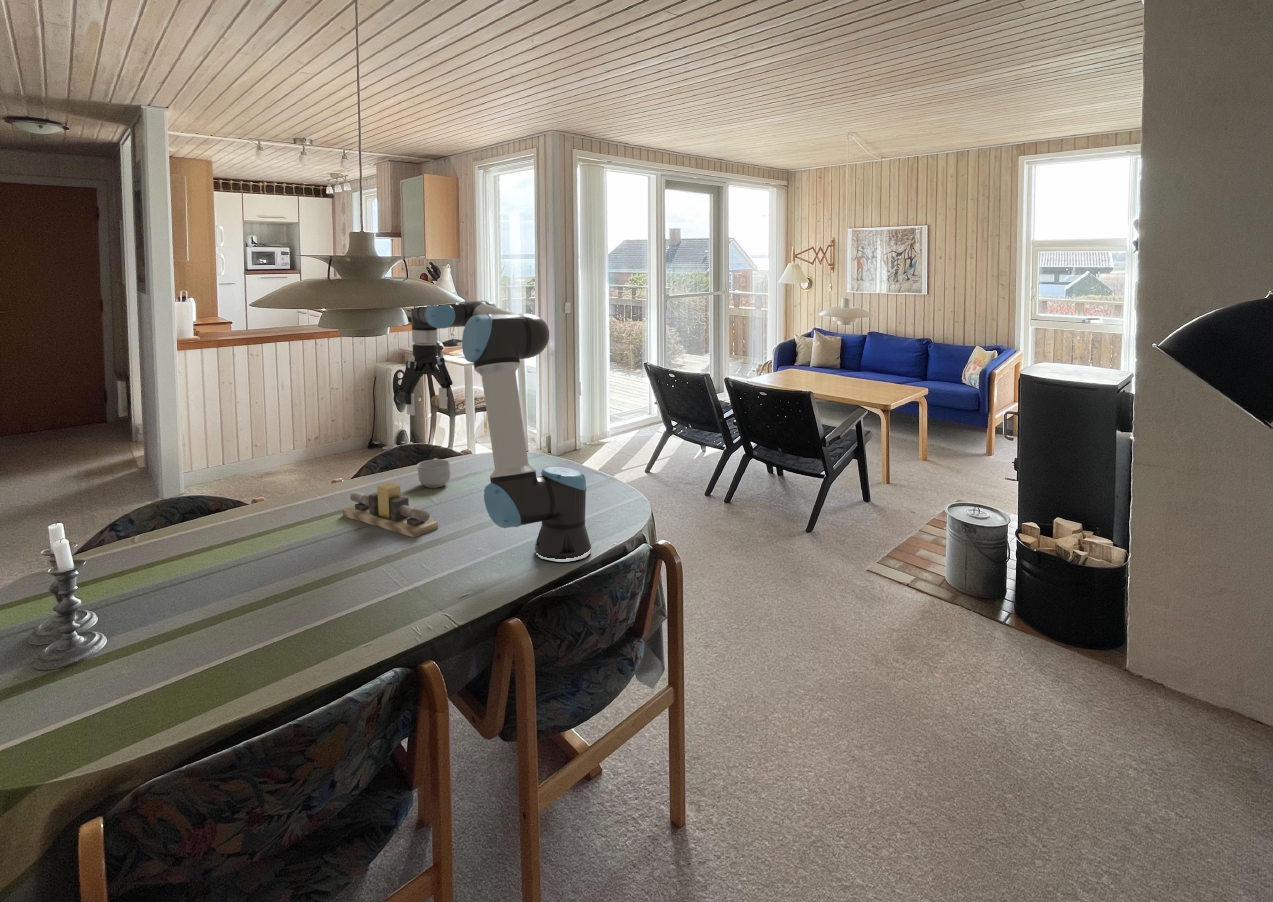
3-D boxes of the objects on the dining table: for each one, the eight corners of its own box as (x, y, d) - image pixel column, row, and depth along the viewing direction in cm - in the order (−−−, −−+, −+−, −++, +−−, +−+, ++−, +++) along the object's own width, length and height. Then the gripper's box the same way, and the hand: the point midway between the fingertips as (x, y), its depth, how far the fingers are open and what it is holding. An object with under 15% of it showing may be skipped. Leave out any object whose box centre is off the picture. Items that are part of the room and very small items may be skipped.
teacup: (445, 490, 252) (445, 467, 250) (413, 489, 252) (412, 466, 250) (456, 478, 266) (455, 457, 264) (425, 477, 266) (424, 455, 264)
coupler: (402, 514, 221) (400, 485, 219) (390, 519, 218) (388, 489, 215) (390, 511, 224) (388, 482, 222) (378, 515, 220) (376, 486, 218)
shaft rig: (437, 528, 218) (437, 502, 216) (414, 537, 210) (413, 510, 208) (367, 508, 233) (365, 483, 231) (342, 516, 225) (341, 490, 223)
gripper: (445, 339, 244) (447, 403, 249) (384, 345, 223) (387, 415, 228) (462, 341, 240) (464, 406, 245) (402, 348, 219) (405, 419, 225)
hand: (427, 411), depth 237 cm, fingers open, 13 cm apart
